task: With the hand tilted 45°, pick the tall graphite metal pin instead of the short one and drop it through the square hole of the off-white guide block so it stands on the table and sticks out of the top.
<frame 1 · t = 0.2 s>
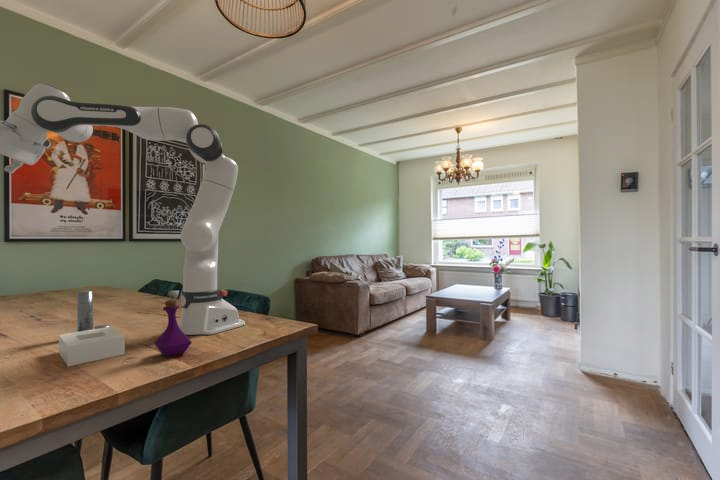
short pin: (102, 340, 105), on the table
guide block: (91, 353, 93), on the table
perfume bottle: (172, 354, 92), on the table
tall pin: (85, 336, 109), on the table
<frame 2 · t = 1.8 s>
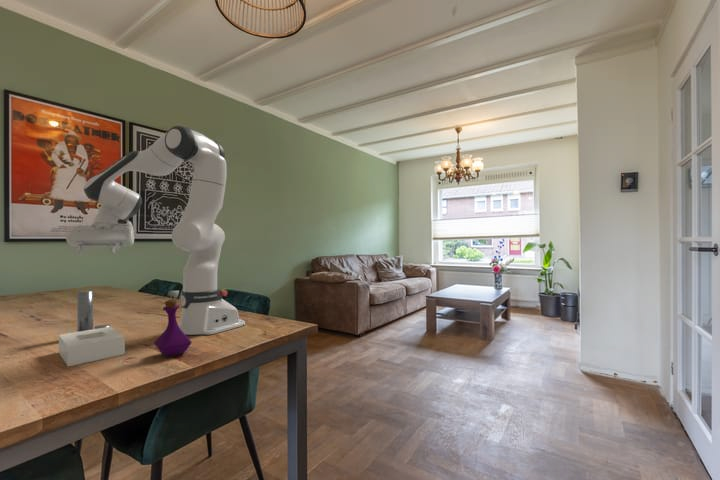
hand: (95, 252, 118), 28 cm above the table, tool tilted 45°, fingers open, 8 cm apart
nothing on the table moved.
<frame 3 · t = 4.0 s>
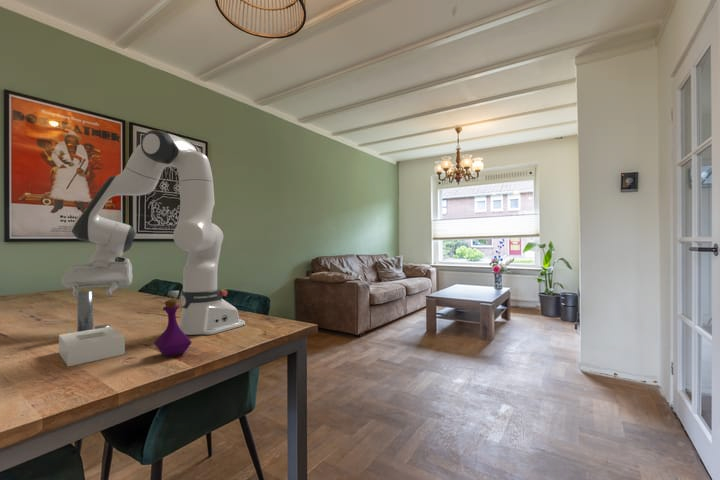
hand: (92, 294, 113), 13 cm above the table, tool tilted 45°, fingers open, 8 cm apart
nothing on the table moved.
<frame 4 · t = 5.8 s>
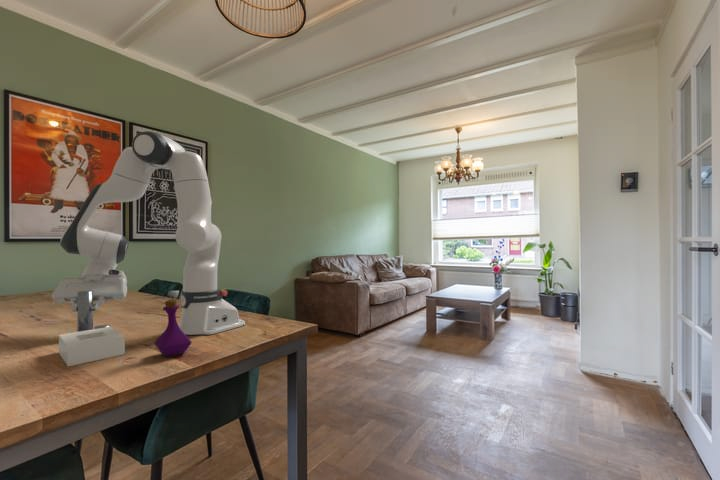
hand: (84, 310, 108), 9 cm above the table, tool tilted 45°, fingers closed on tall pin, 4 cm apart
tall pin: (85, 336, 109), on the table, touching gripper
everything else where it was.
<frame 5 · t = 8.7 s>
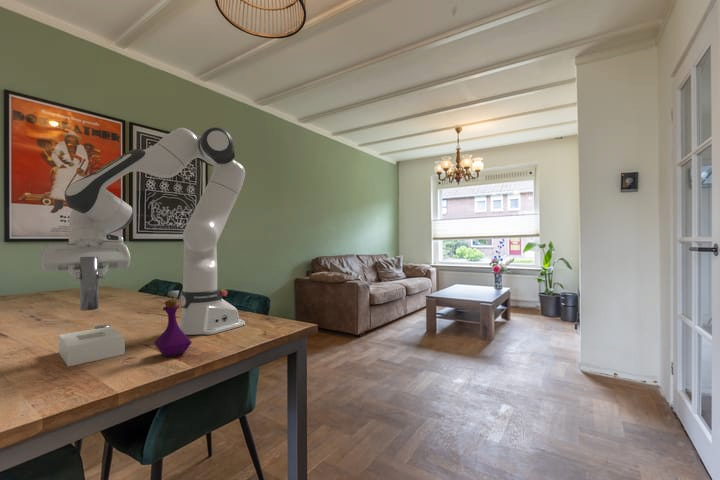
hand: (89, 278, 93), 21 cm above the table, tool tilted 45°, fingers closed on tall pin, 4 cm apart
tall pin: (89, 309, 94), point 12 cm above the table, touching gripper
everything else where it was.
when the fingers open (11 cm above the table, at t = 11.8 s): tall pin drops 2 cm, resting in guide block.
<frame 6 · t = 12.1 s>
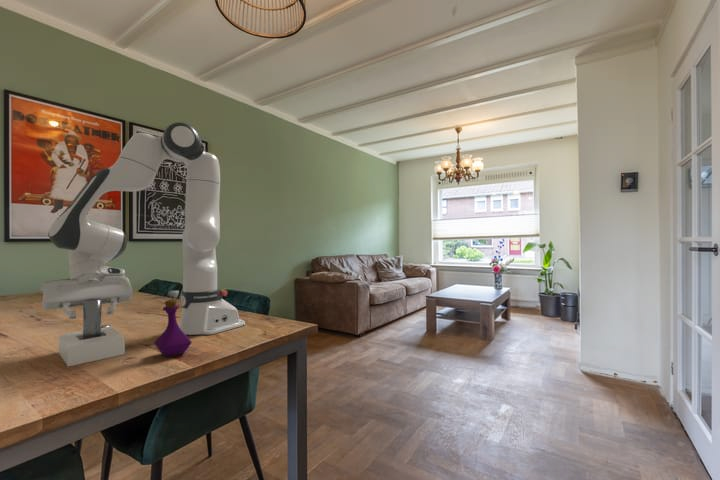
hand: (91, 315, 92), 11 cm above the table, tool tilted 45°, fingers open, 7 cm apart
tall pin: (91, 353, 93), resting in guide block
everything else where it was.
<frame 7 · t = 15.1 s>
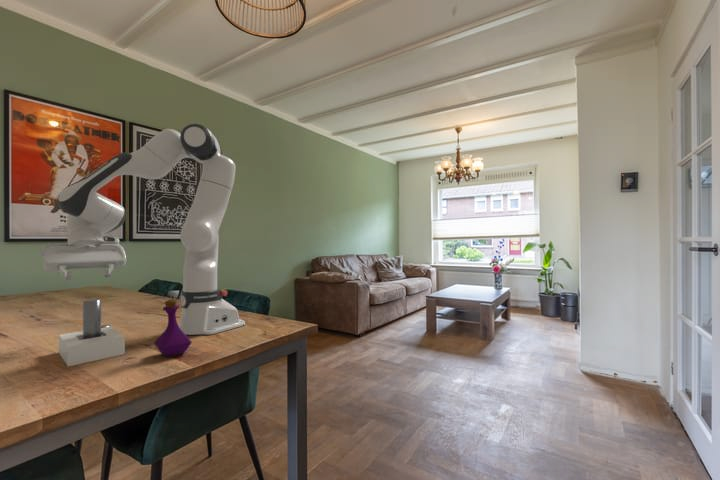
hand: (88, 277, 100), 21 cm above the table, tool tilted 45°, fingers open, 8 cm apart
nothing on the table moved.
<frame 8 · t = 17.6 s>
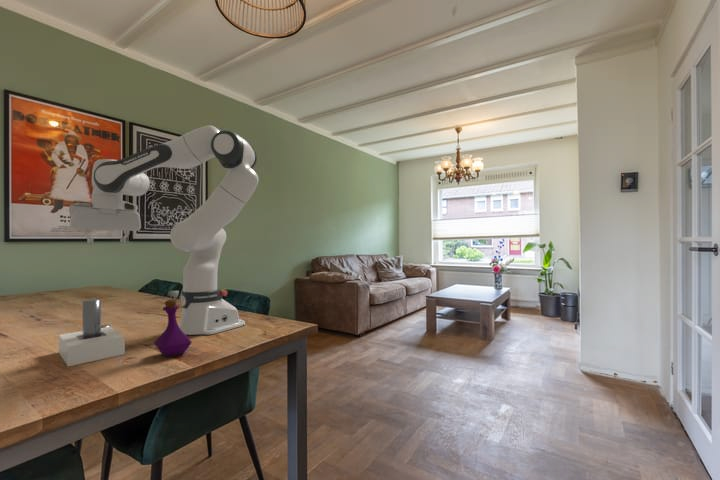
hand: (107, 243, 118), 31 cm above the table, tool pointing down, fingers open, 8 cm apart
nothing on the table moved.
at the end: tall pin 0.1 cm off-centre on the guide block, point 0.0 cm above the guide block's base; tall pin tilted 0°; the gripper is holding nothing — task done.
